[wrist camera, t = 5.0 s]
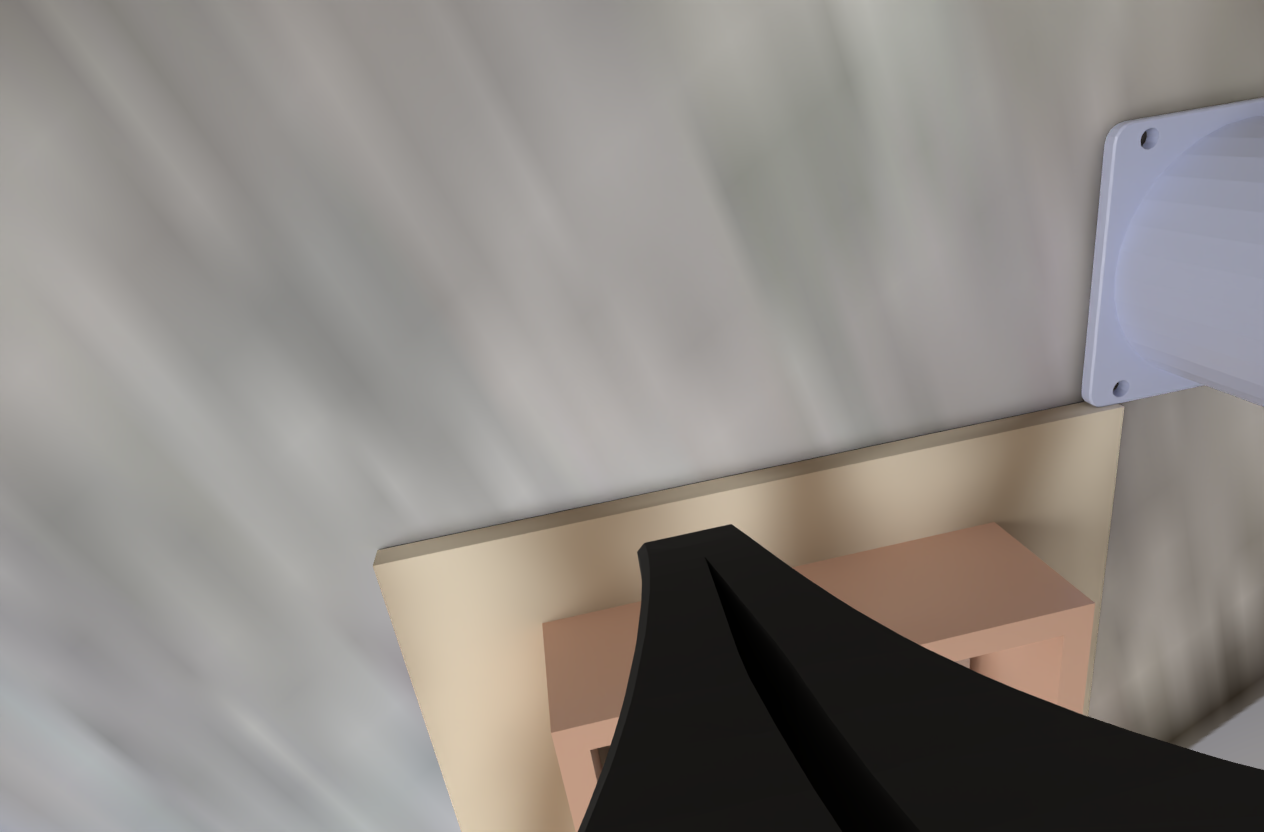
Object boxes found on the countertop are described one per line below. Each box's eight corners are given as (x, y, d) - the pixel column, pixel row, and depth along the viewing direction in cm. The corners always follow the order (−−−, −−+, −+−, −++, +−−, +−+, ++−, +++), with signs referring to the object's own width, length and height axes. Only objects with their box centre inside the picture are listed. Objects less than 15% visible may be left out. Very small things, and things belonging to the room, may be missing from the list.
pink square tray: (994, 521, 23) (1095, 603, 19) (978, 839, 28) (1055, 953, 24) (542, 623, 21) (551, 733, 18) (616, 936, 27) (635, 1073, 23)
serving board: (1104, 397, 23) (1124, 406, 22) (1056, 849, 30) (1069, 867, 30) (377, 550, 21) (373, 565, 20) (522, 994, 28) (523, 1017, 27)
